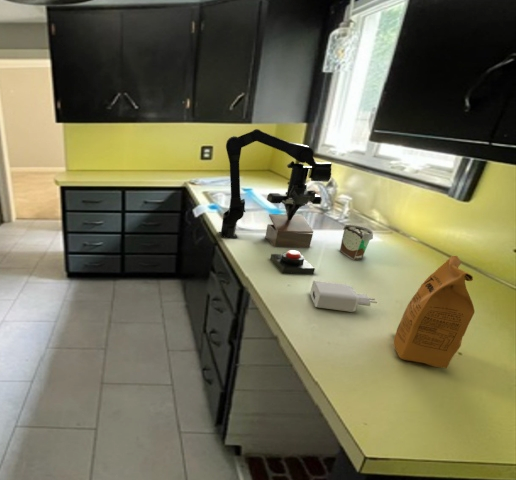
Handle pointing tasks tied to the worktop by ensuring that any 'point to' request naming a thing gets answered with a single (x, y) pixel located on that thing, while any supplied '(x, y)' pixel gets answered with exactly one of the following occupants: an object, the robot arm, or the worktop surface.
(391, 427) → the worktop surface
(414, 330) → the coffee package
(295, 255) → the button
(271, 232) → the chest
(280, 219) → the lid
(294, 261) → the button box
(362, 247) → the food container
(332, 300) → the charger
